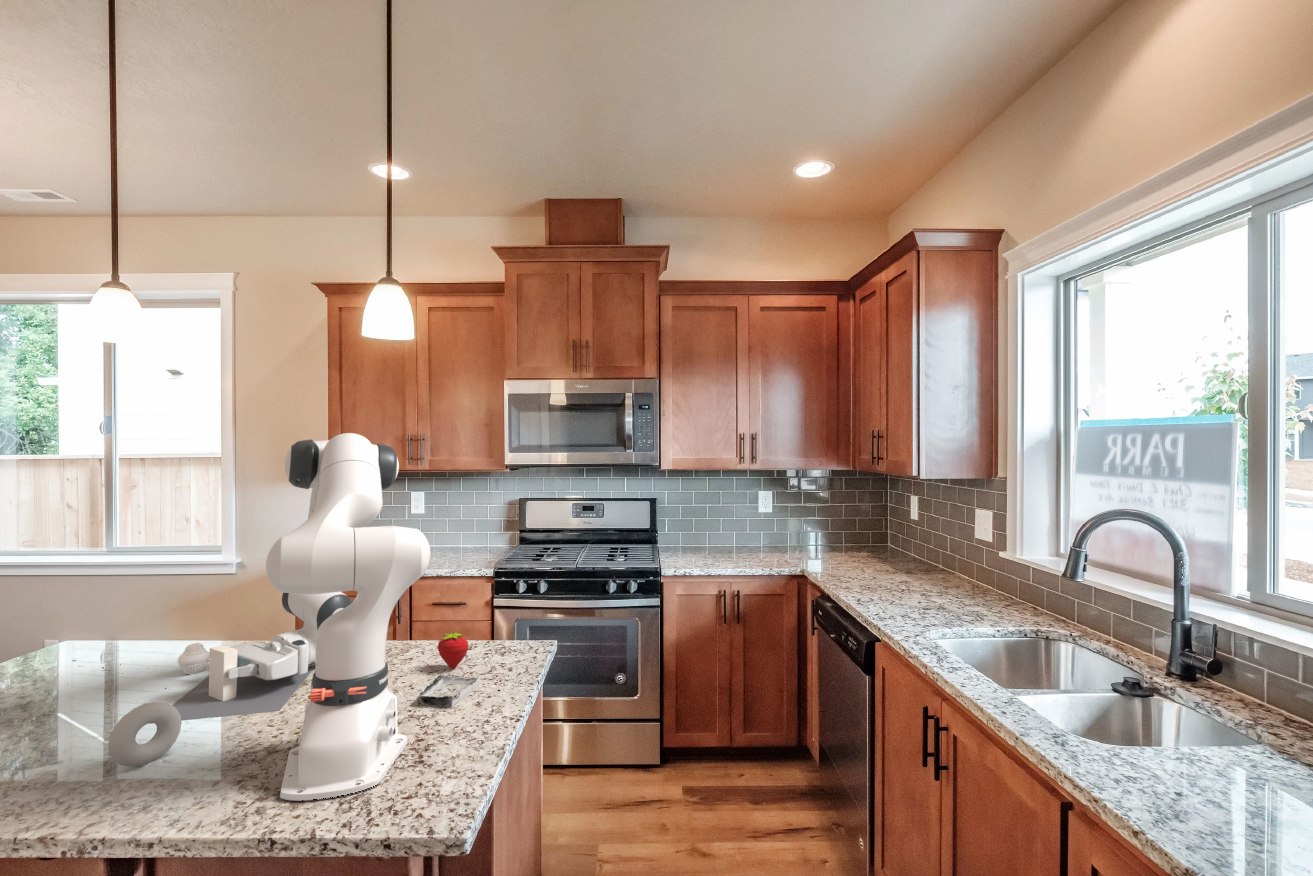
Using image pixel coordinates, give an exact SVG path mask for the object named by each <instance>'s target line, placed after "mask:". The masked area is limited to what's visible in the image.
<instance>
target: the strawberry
mask: <svg viewBox="0 0 1313 876" xmlns="http://www.w3.org/2000/svg"><path fill="white" fill-rule="evenodd" d="M444 636H445V637H442V638H441V639H440V641H438V643H437V644H438V645H437V650H438V654H439V656H440V657H441V659H442V660H443V662H445V664H447V665H448V667H449V669H453V670H454V669H456V668H457V667H458V666H459V664H460V663H461V662H462V661H463V659H464V658H465V657H466V655H467V654H468V650H469V642H468V640H467V639H466V638H465V637H464V635H463V633H458V632H455V633H453V631H452V630H450V633H445V634H444Z"/></svg>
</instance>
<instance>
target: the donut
mask: <svg viewBox="0 0 1313 876" xmlns="http://www.w3.org/2000/svg"><path fill="white" fill-rule="evenodd" d="M172 705H173V704H170V703H169V702H165V701H151V702H145V703H143V704H140V705H139V706H136V707H134V708H133V709H131V710H130V711H129V712H127V713H125V715H123V716H122V717H121V718H120V719H119V721H118V722H117V723H116V724H115V725H114V727H113V730H112V731H111V733H110V735H109V738H108V739H109V740H108V744H107V747H108V748H107V749H108V753H109V756H110V757H111V758H112V760H113V761H114V762H115V763H117V764H118V765H120V766H123V767H128V768H129V767H130V768H131V767H132V768H135V767H136V768H137V767H141V766H144V765H145V766H146V765H148V764H149V763H151V762H154V761H155V760H158V759H159V758H161V757H162V756H163V755H164V754H166V753H167V752H168V751H169V750H170V749H171V748H172V746H173V745H174V744H175V743H176V741H177V740H178V737H179V735H180V732H181V728H182V724H183V723H182V722H183V721H181V716H180V713H179V712H178V710H177V709H176V707H174V706H172ZM149 723H151V724H154V725H155V726H156V731H155V734H154V735H153V736H152V738H151V739H149V740H148V741H146V742H145V743H137V741H136V737H137V735H138V732H139V731H140V730H141V729H142V728H143V727H144V726H145V725H148V724H149ZM149 725H150V724H149Z"/></svg>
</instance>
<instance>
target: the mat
mask: <svg viewBox="0 0 1313 876" xmlns="http://www.w3.org/2000/svg"><path fill="white" fill-rule="evenodd" d="M314 670H315V665H311V666H309V665H308V671H307V673H304V674H301V675H297V674H294V675H291V676H288V677H284V678H280V679H276V680H264V679H261V678H259V677H256V676H253V675H252V676H244V677H237V694H236V697H235V698H232V699H229V700H226V701H221V700H218V699H216V698H214V697H211V696H209V675H208V676H207V677H206V678H205V679H203V680H202V681H200V682H199V683H198V684H197V685H195V686H194V687H193V688H192V689H191V690H189V691H188V692H187V693H185V694H184V695H182V696H181V697H180V698H179V699H178V700H177V701H176V702H174V703H172V704H171V705H172V706H174V707H176V709H177V710H178V712H179V713H180V716H181V722H183V721H189V720H200V719H201V720H202V719H210V718H222V717H223V718H224V717H230V716H231V717H232V716H241V715H243V716H244V715H253V714H262V713H272V712H280V711H281V710H282V708H284V706H285V705H286V704H287V702H288V701H289V700H290V699H291V697H292V696H293V695H294V694H295V693H296V691H297V690H298V689H299V688H300V687H301V685H302V684H303V683H304V681H305V680H306V679H307V678H308V677H309V676H310V674H311V673H312V672H313V671H314ZM151 724H152V723H149V725H151Z"/></svg>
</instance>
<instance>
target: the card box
mask: <svg viewBox="0 0 1313 876" xmlns="http://www.w3.org/2000/svg"><path fill="white" fill-rule="evenodd" d="M209 653H210V658H209V661H208V662H209V663H208V664H209V671H208V676H209V696H211V697H214V698H216V699H218V700H221V701H226V700H229V699H232V698H235V697H236V694H237V678H233V679H229V678H227V677H226V670H228V669H231V668H234V667H236V668H237V649H234V648H231V646H227V645H224V644H221V645H217V646H213V647H210V648H209Z"/></svg>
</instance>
